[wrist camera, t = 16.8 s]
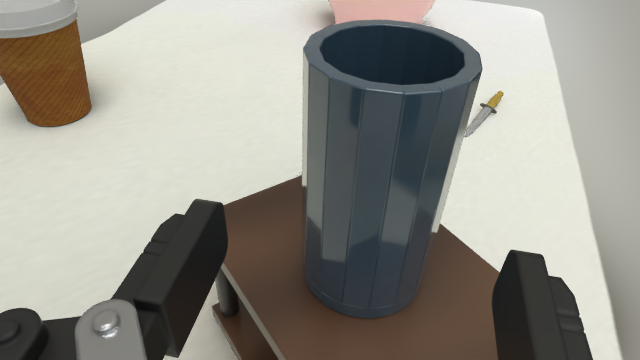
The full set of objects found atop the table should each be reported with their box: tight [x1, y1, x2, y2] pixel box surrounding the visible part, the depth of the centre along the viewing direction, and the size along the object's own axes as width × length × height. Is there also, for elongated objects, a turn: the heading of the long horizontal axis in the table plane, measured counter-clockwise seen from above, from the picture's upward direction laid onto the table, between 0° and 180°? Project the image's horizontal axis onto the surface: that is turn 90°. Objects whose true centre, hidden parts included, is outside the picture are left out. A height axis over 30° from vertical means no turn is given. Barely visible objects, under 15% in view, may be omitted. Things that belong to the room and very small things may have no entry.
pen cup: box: [301, 19, 482, 318], centre depth 19 cm, size 6×6×11 cm
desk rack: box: [212, 175, 500, 360], centre depth 25 cm, size 15×11×9 cm
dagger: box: [465, 91, 503, 136], centre depth 51 cm, size 11×1×2 cm
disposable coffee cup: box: [0, 0, 91, 126], centre depth 45 cm, size 10×10×12 cm
